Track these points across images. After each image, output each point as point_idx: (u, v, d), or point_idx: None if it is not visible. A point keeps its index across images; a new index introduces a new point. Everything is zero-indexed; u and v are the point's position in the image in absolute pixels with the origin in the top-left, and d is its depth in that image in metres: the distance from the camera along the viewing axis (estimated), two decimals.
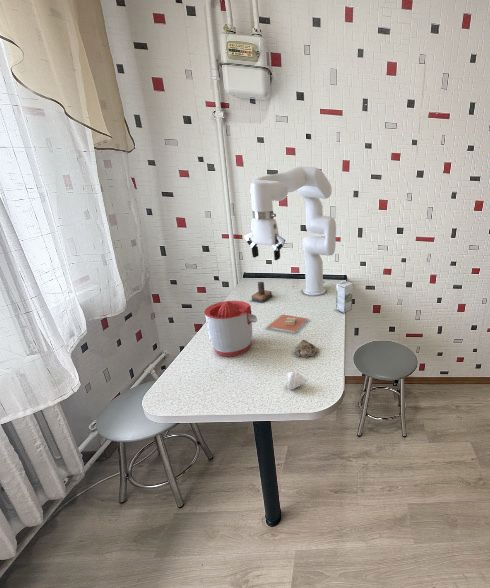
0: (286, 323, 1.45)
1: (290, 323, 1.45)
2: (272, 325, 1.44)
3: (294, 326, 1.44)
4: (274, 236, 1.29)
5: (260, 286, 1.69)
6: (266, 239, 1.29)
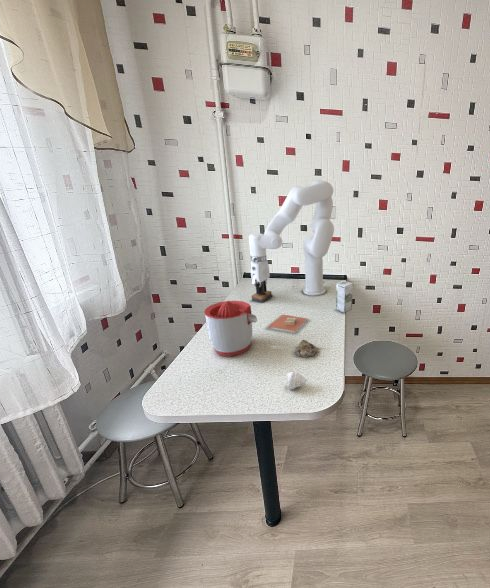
0: (286, 323, 1.45)
1: (290, 323, 1.45)
2: (272, 325, 1.44)
3: (294, 326, 1.44)
4: (252, 275, 1.63)
5: None
6: None
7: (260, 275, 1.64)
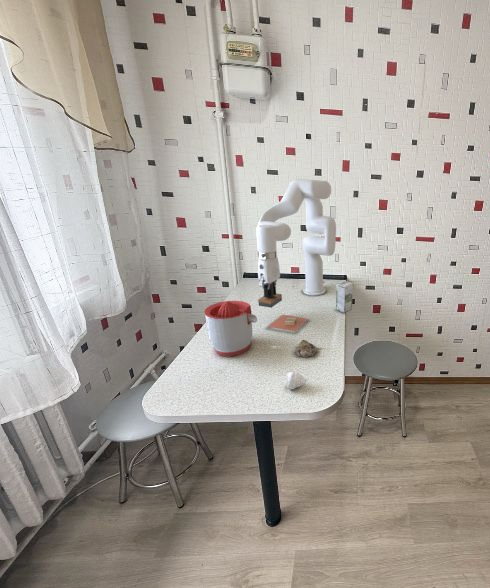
0: (286, 323, 1.45)
1: (290, 323, 1.45)
2: (272, 325, 1.44)
3: (294, 326, 1.44)
4: (259, 275, 1.36)
5: None
6: None
7: (269, 275, 1.36)
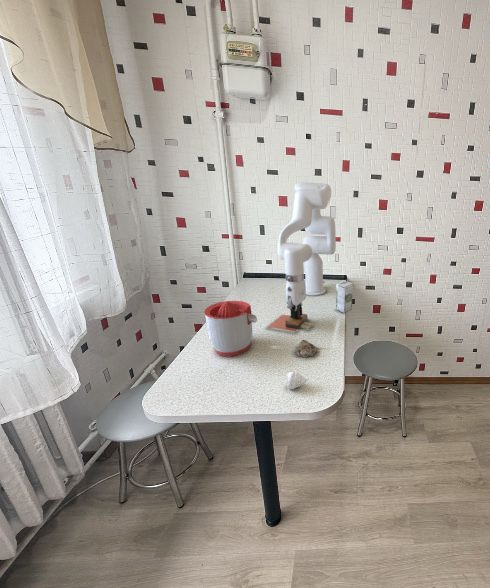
0: (301, 327, 1.43)
1: None
2: (272, 325, 1.44)
3: None
4: (287, 297, 1.37)
5: None
6: None
7: (297, 297, 1.37)
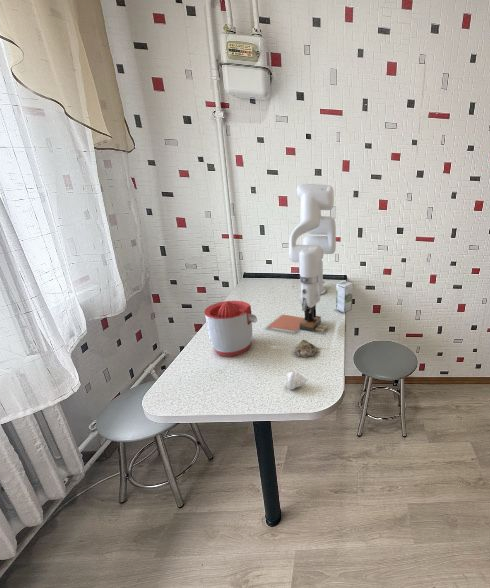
0: None
1: None
2: (272, 325, 1.44)
3: (294, 326, 1.44)
4: (302, 299, 1.36)
5: None
6: None
7: (312, 299, 1.36)
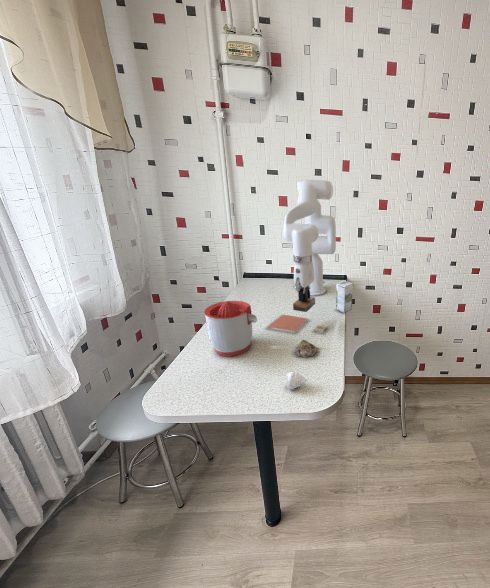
0: None
1: None
2: (272, 325, 1.44)
3: (294, 326, 1.44)
4: (295, 279, 1.33)
5: None
6: None
7: (305, 279, 1.34)
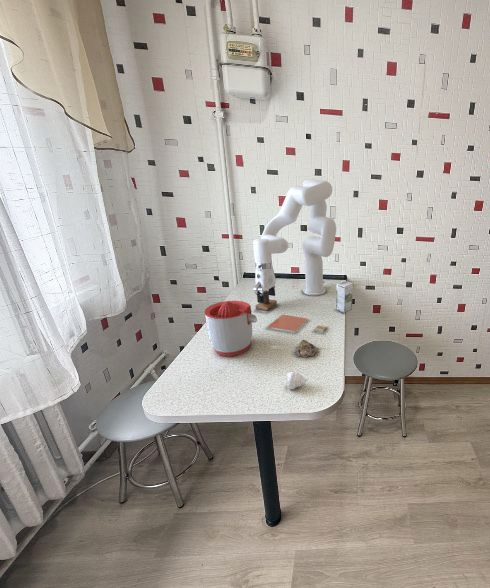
0: None
1: None
2: (272, 325, 1.44)
3: (294, 326, 1.44)
4: (256, 283, 1.52)
5: (264, 295, 1.58)
6: None
7: (265, 283, 1.53)
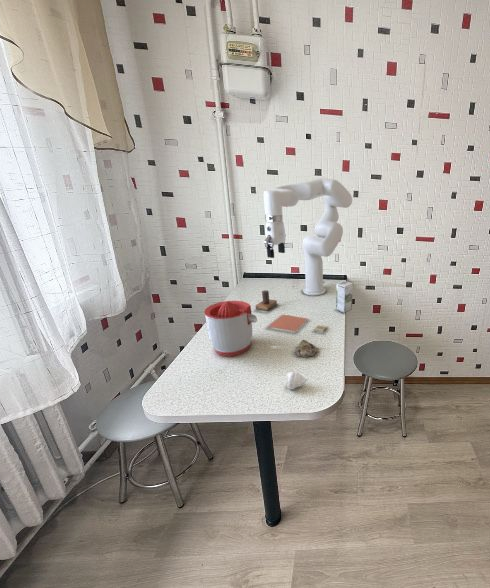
0: None
1: None
2: (272, 325, 1.44)
3: (294, 326, 1.44)
4: (267, 236, 1.48)
5: (264, 295, 1.58)
6: None
7: (276, 236, 1.49)
